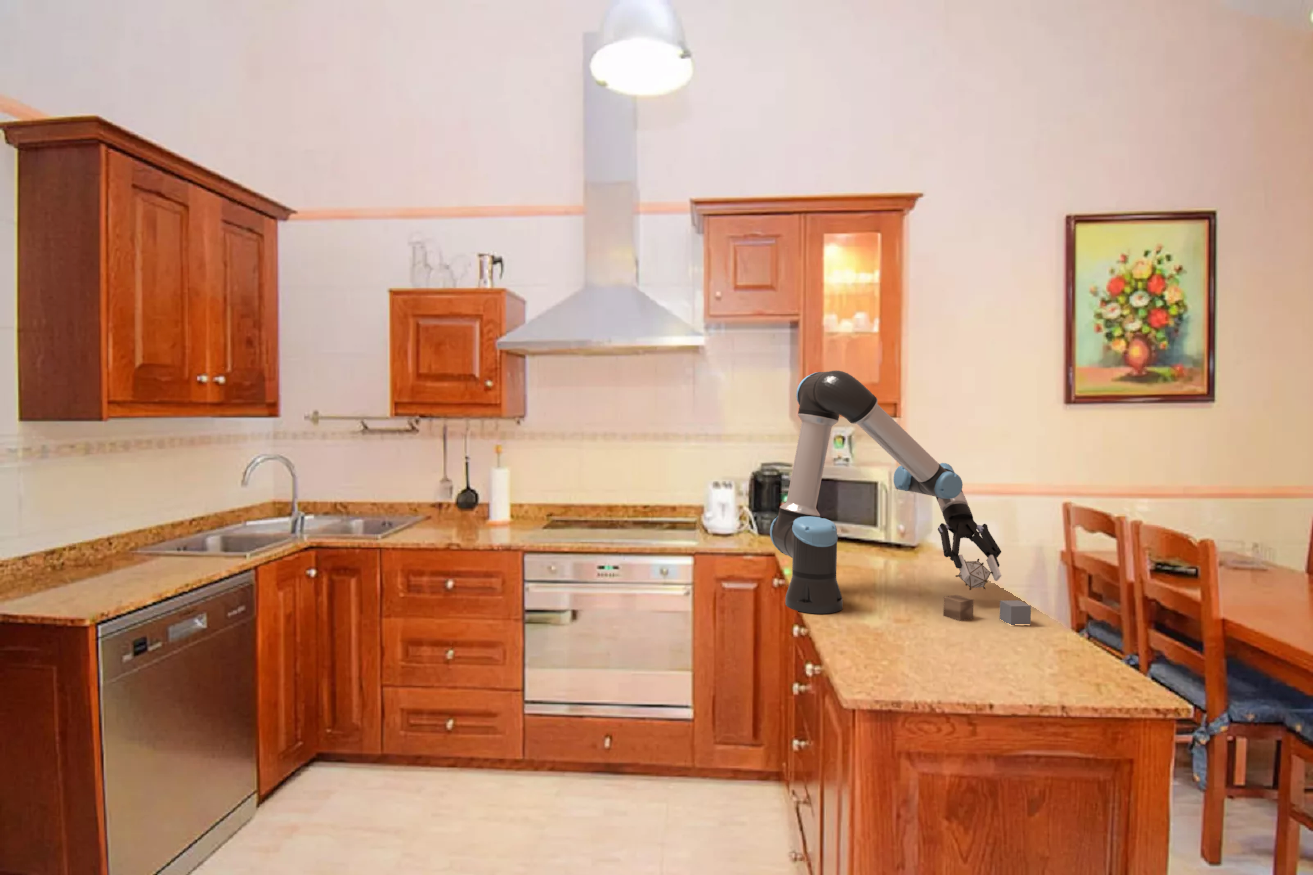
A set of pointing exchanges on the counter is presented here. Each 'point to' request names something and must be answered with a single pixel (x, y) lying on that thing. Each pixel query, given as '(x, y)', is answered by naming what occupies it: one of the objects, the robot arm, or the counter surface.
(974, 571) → the game die
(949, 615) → the walnut block
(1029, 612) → the gray block
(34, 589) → the counter surface
